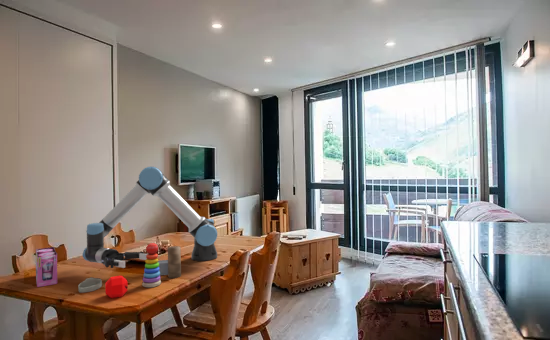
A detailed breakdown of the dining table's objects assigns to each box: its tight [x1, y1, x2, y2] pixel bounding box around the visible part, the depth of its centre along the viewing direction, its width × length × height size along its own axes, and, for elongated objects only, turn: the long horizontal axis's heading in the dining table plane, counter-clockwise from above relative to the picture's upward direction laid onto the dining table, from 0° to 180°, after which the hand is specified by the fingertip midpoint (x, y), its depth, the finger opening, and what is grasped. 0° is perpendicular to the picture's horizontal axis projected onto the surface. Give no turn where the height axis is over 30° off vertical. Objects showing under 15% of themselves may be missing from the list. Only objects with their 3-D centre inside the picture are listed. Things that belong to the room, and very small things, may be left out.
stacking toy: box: [141, 242, 162, 288], centre depth 146 cm, size 8×8×19 cm
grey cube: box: [158, 259, 168, 277], centre depth 163 cm, size 6×6×6 cm
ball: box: [104, 274, 129, 299], centre depth 133 cm, size 8×8×8 cm
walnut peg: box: [167, 245, 182, 279], centre depth 158 cm, size 6×6×14 cm
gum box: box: [35, 246, 58, 288], centre depth 157 cm, size 24×8×14 cm, turn 38°
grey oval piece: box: [78, 277, 103, 293], centre depth 141 cm, size 9×6×5 cm
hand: (137, 260), depth 150 cm, fingers open, 13 cm apart
